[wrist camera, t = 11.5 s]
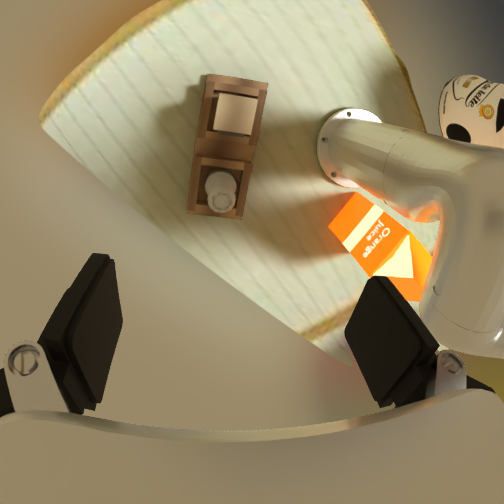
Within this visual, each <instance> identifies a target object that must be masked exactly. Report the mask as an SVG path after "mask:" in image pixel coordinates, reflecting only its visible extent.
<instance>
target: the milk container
mask: <svg viewBox="0 0 504 504" xmlns="http://www.w3.org/2000/svg"><path fill="white" fill-rule="evenodd" d="M439 123H440V128H441V132H442V135H443V137H444V138H448V139H452V140H457V141H462V142H467V143H473V144H480V145H487V146H493V147H499V148H503V149H504V84H498V83H493V82H490V81H488V80H486V79H483V78H481V77H478V76H474V75H461V76H457V77H454V78H452V79H451V80H450V81H449V82H448V83H447V84H446V85H445V87H444V89H443V91H442V93H441V96H440V102H439Z"/></svg>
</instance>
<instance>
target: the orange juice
mask: <svg viewBox="0 0 504 504" xmlns="http://www.w3.org/2000/svg"><path fill="white" fill-rule="evenodd" d="M328 227H329V228H330V229H331V230H332V231H333V233H334V234H335V235H336V236H337V237H338V239H339V240H340V241H341V242H342V244H343V245H344V246H345V247H346V249H347V250H348V251H349V252H350V253H351V254H352V256H353V257H354V258H355V259H356V260H357V262H358V263H359V264H360V265H361V267H362V268H363V269H364V270H365V272H366V273H367V274H368V276H369V277H370V278H371V277H372V276H374V275H377V276H387V277H388V278H389V279H390V281H391V282H392V283H393V284H394V285H395V287H396V288H397V289H398V290H399V292H400V293H401V294H402V295H403V297H404V298H405V299H406V300H408V301H417V302H420V298H421V293H422V290H423V287H424V283H425V280H426V276H427V273H428V270H429V267H430V263H431V260H432V256H431V255H430V254H429V253H428V252H427V250H426V249H425V248H424V247H423V246H422V244H421V243H420V242H419V241H418V240H417V239H416V237H415V236H414V235H413V234H412V233H411V232H410V231H408V230H409V229H408V230H407V229H406V228H404V226H403V225H401V224H399V223H398V222H397V221H396V220H394V219H393V218H392V217H390V216H389V215H388V214H386V213H385V212H384V211H383V210H382V209H380V208H379V207H378V206H376V205H375V204H373V203H372V202H370V201H369V200H368V199H366V198H365V197H363V196H362V195H361V194H359V193H358V192H356V193H355V194H354V195H353V196H352V198H351V199H350V200H349V201H348V203H347V204H346V205H345V206H344V208H343V209H342V210H341V211H340V213H339V214H338V215H337V216H336V217H335V219H334V220H333V221H332V222H331V224H330V225H329V226H328Z"/></svg>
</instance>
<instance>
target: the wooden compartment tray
mask: <svg viewBox="0 0 504 504" xmlns="http://www.w3.org/2000/svg"><path fill="white" fill-rule="evenodd" d="M267 87H268V83H263V82H258V81H253V80H248V79H242V78H236V77H229V76H222V75H215V74H208V75H207V80H206V85H205V90H204V95H203V101H202V106H201V112H200V118H199V124H198V130H197V136H196V143H195V150H194V157H193V164H192V172H191V180H190V188H189V197H188V206H187V213H189V214H198V215H207V216H216V217H225V218H233V219H241V217H242V215H243V210H244V204H245V199H246V194H247V189H248V184H249V178H250V173H251V168H252V160H253V155H254V150H255V146H256V143H257V138H258V133H259V128H260V123H261V118H262V114H263V109H264V104H265V99H266V94H267ZM217 169H225V170H228V171H230V172H231V173H232V174H233V175H234V177H235V178H236V183H237V188H236V191H235V193H234V194H235V198H236V201H235V205H234V206H233V208H232V209H231V210H229V211H227V212H224V213H219V212H215V211H214V210H212V209H211V208H210V206H209V205H208V200H207V199H208V195H207V193H206V191H205V185H204V183H205V179H206V177H207V176H208V174H209V173H210V172H212V171H214V170H217Z"/></svg>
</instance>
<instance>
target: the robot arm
mask: <svg viewBox="0 0 504 504" xmlns="http://www.w3.org/2000/svg"><path fill="white" fill-rule="evenodd" d="M346 113H348V115H346ZM323 137H324V140H323V141H322V138H323ZM317 156H318V160H319V163H320V165H321V168H322V170H323V171H324V172H325V174H326V175H327V176H328V177H329V178H330V179H331V180H333V181H334V182H335V183H337V184H339V185H341V186H343V187H347V188H360V187H362V188H363V189H365V190H366V191H368V192H369V193H371V194H372V195H374V196H375V197H377V198H378V199H380V200H381V201H383V202H384V203H386V204H387V205H388V206H390V207H391V208H393V209H394V210H395V211H397V212H398V213H400V214H401V215H403V216H404V217H406V218H408V219H410V220H412V221H415V222H421V223H429V222H435V221H439V220H440V225H439V230H438V235H437V239H436V245H435V249H434V253H433V256H432V260H431V263H430V267H429V270H428V273H427V276H426V280H425V283H424V287H423V290H422V293H421V298H420V304H419V313H420V318H419V316H418V315H417V314H416V312H415V311H414V310H413V308H412V307H411V306H410V304H409V303H408V302H407V301H406V299H405V298H404V297H403V295H402V294H401V293H400V292H399V290H398V289H397V288H396V287H395V285H394V284H393V283H392V282H391V281H390V279H389V278H388V277H387V276H377V275H374V276H372V277H371V278H370V279H369V280H368V281H367V283H366V285H365V287H364V289H363V292H362V294H361V296H360V298H359V301H358V303H357V305H356V307H355V309H354V311H353V313H352V315H351V318H350V320H349V322H348V324H347V326H346V328H345V338H346V340H347V342H348V344H349V346H350V348H351V350H352V352H353V355H354V357H355V359H356V361H357V363H358V365H359V367H360V370H361V372H362V374H363V376H364V378H365V381H366V383H367V385H368V387H369V390H370V392H371V394H372V396H373V398H374V400H375V401H377V402H378V405H379V407H380V408H382V407H386V406H390V405H391V404H392V403H393V402H394V403H395V408H394V409H391V410H387V411H383V412H379V413H375V414H370V415H366V416H362V417H357V418H352V419H347V420H341V421H336V422H330V423H323V424H317V425H310V426H301V427H291V428H281V429H267V430H246V431H245V430H244V431H209V430H187V429H174V428H164V427H154V426H145V425H137V424H130V423H124V422H117V421H112V420H106V419H101V418H95V417H90V416H83V415H82V414H83V413H84V408H85V409H89V410H93V411H95V408H96V403H101V401H102V397H103V393H104V389H105V385H106V381H107V377H108V373H109V369H110V366H111V362H112V359H113V355H114V352H115V348H116V345H117V342H118V338H119V335H120V332H121V329H122V323H123V318H122V313H121V306H120V300H119V293H118V286H117V279H116V271H115V262H114V260H113V259H110V257H109V255H108V254H99V253H93V254H92V255H91V256H90V258H89V259H88V260H87V262H86V263H85V265H84V266H83V268H82V270H81V271H80V272H79V274H78V276H77V277H76V279H75V280H74V282H73V284H72V285H71V287H70V288H69V289H67V290H66V292H65V293H64V295H63V297H62V298H61V300H60V302H59V303H58V305H57V307H56V308H55V310H54V312H53V314H52V315H51V317H50V319H49V321H48V323H47V324H46V326H45V328H44V330H43V332H42V334H41V336H40V338H39V340H38V342H37V343H36V342H34V341H27V340H25V341H20V342H18V343H16V344H14V345H13V346H12V347H11V348H10V349H9V350H8V351H7V353H6V354H5V358H4V368H2V369H0V504H504V403H503V402H502V401H501V399H500V398H499V397H498V396H497V395H496V394H495V392H494V390H493V389H492V388H491V387H488V386H487V385H485V384H483V383H481V382H479V381H477V380H475V379H473V378H471V377H469V376H467V375H466V367H465V364H464V362H463V360H462V359H461V358H460V357H459V356H458V355H457V354H456V353H454V352H453V351H450V350H442V351H440V352H439V353H438V355H437V356H436V354H435V351H436V350H437V349H438V347H439V346H440V345H439V344H438V342H439V343H440V344H442V345H444V346H446V347H448V348H450V349H453V350H455V351H459V352H462V353H467V354H472V355H479V356H486V357H494V358H503V359H504V149H503V148H499V147H493V146H487V145H480V144H473V143H467V142H462V141H457V140H452V139H448V138H444V137H440V136H436V135H432V134H429V133H425V132H421V131H417V130H413V129H409V128H405V127H400V126H396V125H391V124H386V123H382V122H381V120H380V119H379V118H378V117H377V116H375V115H374V114H373V113H371V112H369V111H367V110H363V109H359V108H346V109H343V110H340V111H338V112H336V113H334V114H333V115H332V116H330V117H329V118H328V119H327V120H326V122H325V123H324V124H323V126H322V128H321V130H320V132H319V135H318V139H317ZM332 172H333V174H332V175H331V173H332Z"/></svg>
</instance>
